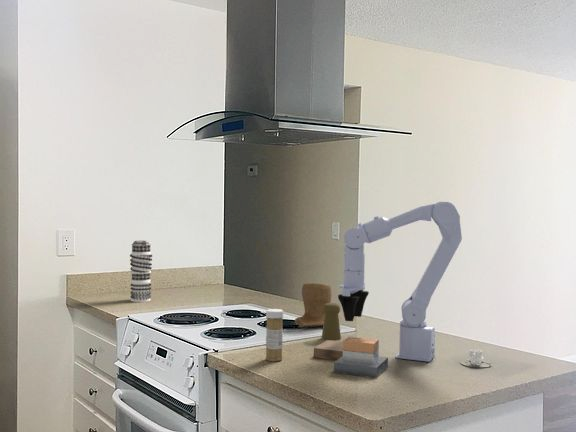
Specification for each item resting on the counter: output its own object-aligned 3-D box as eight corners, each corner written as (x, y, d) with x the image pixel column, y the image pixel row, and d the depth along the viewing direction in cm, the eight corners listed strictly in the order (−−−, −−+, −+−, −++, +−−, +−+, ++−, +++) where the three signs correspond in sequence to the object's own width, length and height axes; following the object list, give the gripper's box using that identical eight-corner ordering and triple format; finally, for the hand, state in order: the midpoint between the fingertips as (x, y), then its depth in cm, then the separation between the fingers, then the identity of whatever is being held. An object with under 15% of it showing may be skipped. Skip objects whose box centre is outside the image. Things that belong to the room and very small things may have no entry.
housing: (378, 359, 160) (378, 339, 160) (373, 363, 155) (373, 343, 155) (348, 355, 163) (348, 336, 163) (342, 360, 158) (342, 340, 158)
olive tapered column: (329, 335, 199) (329, 301, 199) (344, 338, 195) (345, 303, 195) (317, 338, 194) (318, 303, 194) (333, 341, 191) (334, 305, 190)
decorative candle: (144, 302, 257) (145, 241, 256) (125, 301, 259) (125, 241, 259) (156, 299, 265) (156, 240, 265) (136, 298, 268) (137, 239, 267)
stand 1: (363, 352, 177) (364, 343, 177) (352, 361, 167) (352, 352, 167) (327, 348, 181) (327, 340, 181) (313, 357, 171) (313, 348, 171)
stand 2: (387, 367, 162) (388, 357, 162) (376, 377, 152) (376, 367, 152) (347, 362, 166) (347, 352, 166) (333, 372, 156) (333, 362, 156)
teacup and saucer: (472, 360, 172) (472, 345, 172) (498, 366, 166) (498, 350, 166) (453, 365, 166) (454, 349, 166) (480, 371, 160) (480, 355, 160)
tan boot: (323, 320, 223) (323, 279, 223) (341, 327, 213) (342, 283, 212) (286, 324, 216) (286, 281, 215) (303, 331, 205) (304, 285, 205)
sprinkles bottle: (273, 356, 171) (274, 307, 170) (286, 359, 168) (286, 309, 167) (261, 359, 167) (262, 309, 167) (274, 362, 164) (274, 311, 164)
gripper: (348, 267, 183) (347, 313, 183) (332, 272, 170) (331, 321, 170) (371, 268, 180) (370, 315, 181) (356, 273, 167) (356, 324, 167)
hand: (353, 318), depth 175 cm, fingers open, 7 cm apart
